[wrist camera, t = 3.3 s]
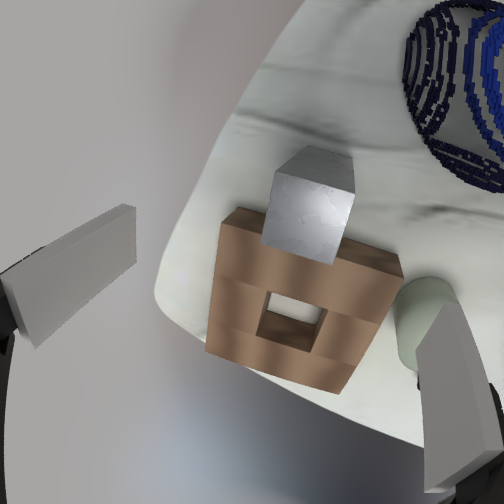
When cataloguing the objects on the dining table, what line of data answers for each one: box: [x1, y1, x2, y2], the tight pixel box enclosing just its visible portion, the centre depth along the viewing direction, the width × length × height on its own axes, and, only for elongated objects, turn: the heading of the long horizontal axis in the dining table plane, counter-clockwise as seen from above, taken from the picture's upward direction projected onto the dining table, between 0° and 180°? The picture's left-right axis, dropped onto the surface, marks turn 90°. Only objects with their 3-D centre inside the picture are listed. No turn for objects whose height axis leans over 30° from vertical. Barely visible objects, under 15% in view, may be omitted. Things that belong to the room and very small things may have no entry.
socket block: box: [205, 207, 404, 395], centre depth 34 cm, size 18×18×5 cm
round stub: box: [393, 277, 460, 372], centre depth 29 cm, size 8×8×7 cm
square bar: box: [260, 146, 355, 265], centre depth 23 cm, size 4×4×14 cm
